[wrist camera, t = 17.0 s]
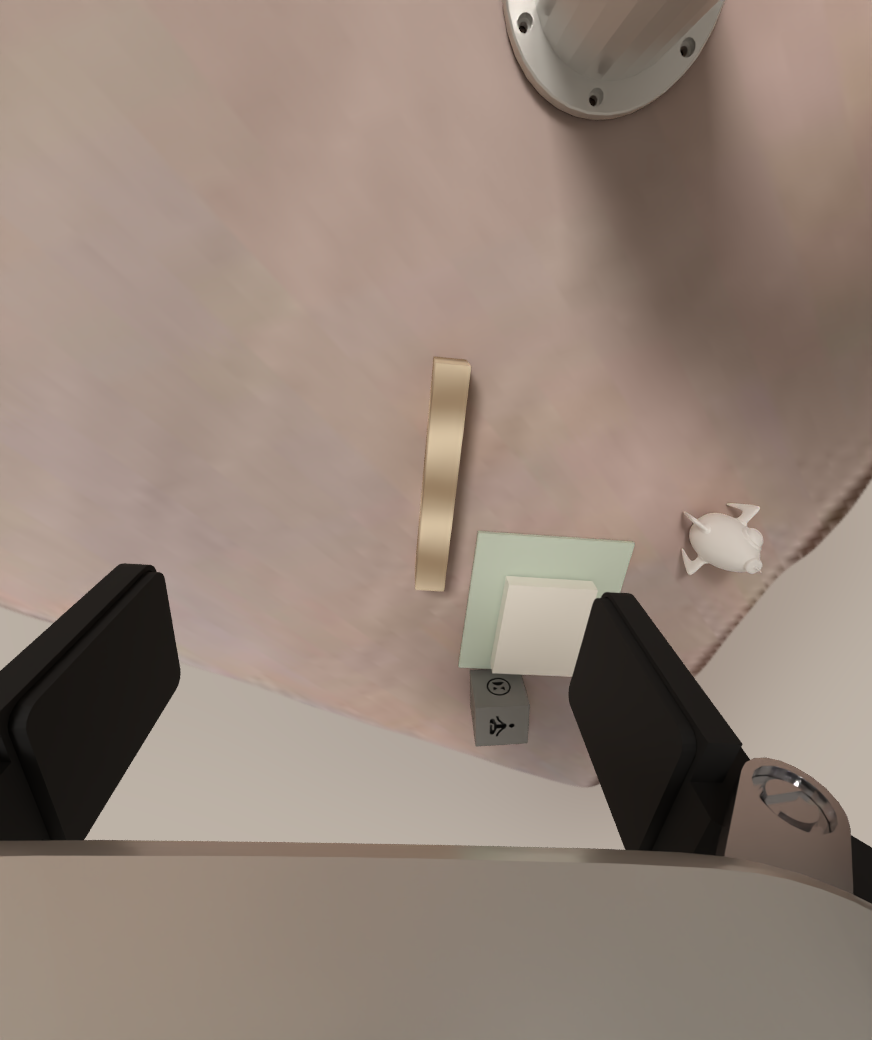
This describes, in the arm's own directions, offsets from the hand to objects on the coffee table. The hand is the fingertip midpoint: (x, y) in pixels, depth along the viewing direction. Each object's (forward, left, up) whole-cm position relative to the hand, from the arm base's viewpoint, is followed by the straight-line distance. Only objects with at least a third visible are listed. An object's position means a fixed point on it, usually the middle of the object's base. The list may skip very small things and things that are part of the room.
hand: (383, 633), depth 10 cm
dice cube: (+29, +11, -29) cm, 42 cm away
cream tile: (+15, +14, -27) cm, 34 cm away
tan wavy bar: (+6, +3, -29) cm, 29 cm away
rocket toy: (+9, +27, -29) cm, 40 cm away
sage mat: (+19, +14, -28) cm, 37 cm away
